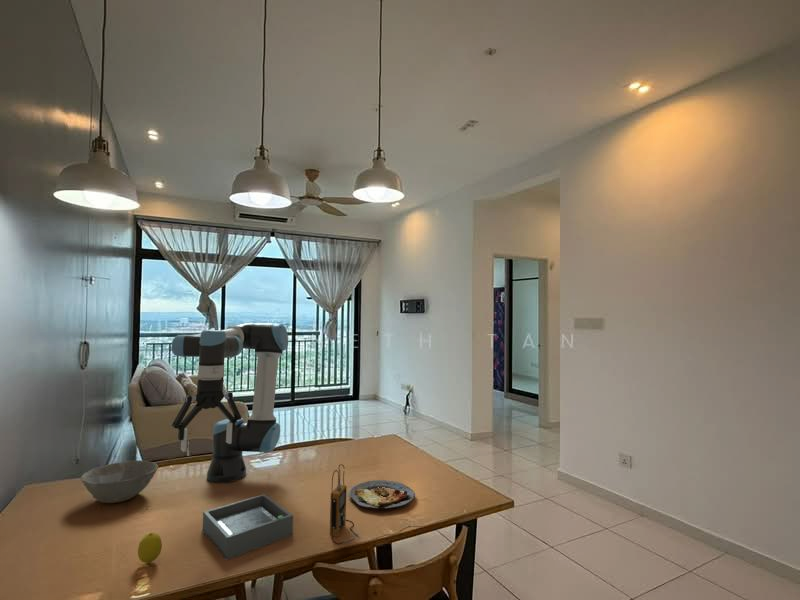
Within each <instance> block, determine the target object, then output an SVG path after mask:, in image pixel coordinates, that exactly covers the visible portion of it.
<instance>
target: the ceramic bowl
mask: <svg viewBox="0 0 800 600" xmlns="http://www.w3.org/2000/svg"><path fill="white" fill-rule="evenodd" d="M158 469H159V465H158V463H156V462H153V461H149V460H137V459H136V460H135V459H134V460H126V461H120V462H114V463H109V464H105V465H102V466H98V467H94V468H93V469H90V470H89V471H86V472H84V473H83V474H82V475H81V477H80V480H81V483H83V485H84V487H85V488H86V490H87V491H88V492H89V494H91V495H92V498H93V499H96V500H97V501H99V502H100V503H103V504H104V503H105V504H113V503H114V504H115V503H121V502H125V501H128V500H130V499H132V498H135V496H137V495H138V494H139V493H141V492H142V491H143V490H144V489H146V488H147V486H149V484H150V483H151V481H152V479H153V478H154V475H155V474H156V472H157V470H158Z"/></svg>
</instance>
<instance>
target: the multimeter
mask: <svg viewBox="0 0 800 600" xmlns="http://www.w3.org/2000/svg"><path fill="white" fill-rule="evenodd" d="M341 466H342V467H343V468H345V466H344V464H339V465H338V467H341ZM335 472H337V475H338V477H337V486H336V487H335V488H334V489H333V486H334V485H333V481H334V475H335ZM342 473H343V476H342V481H343V483H342V484H343V485H342V484H341V469H340V468H338V470H334V471H333V473H332V478H331V490H332V491H331V493H330V507H329V508H330V509H329V513H330V514H329V536H331V540H332V542H333V543H334V544H336V545H341V544H343V543H344V544H345V543H347V542H349V541H351V540H352V539H354V538H356V537H359V538H360V539H361V538H362V537H361V536H360V534H358V533H357V532H356V531H355V530H352V528H353V527H354V525H355V524H354V522H353V521H351V520H349V519H346V518H347V517H346V516H347V488H348V487H347V485H345V472H342ZM346 521H347V522H350V523H352V525H351V526H350V527H349V529H350V531H351V532H352V533H353V534H355V536H354V537H350V538H348V539H345V540H343V541H342V542H339V543H337V542H336V541H335V540H334V537H339V536H340V534H341V533H342V531H343V530H344V529H345V527H346Z"/></svg>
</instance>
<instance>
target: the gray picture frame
mask: <svg viewBox="0 0 800 600" xmlns="http://www.w3.org/2000/svg"><path fill="white" fill-rule="evenodd" d="M275 519H276V518H275V517H274V516H273V515H271V514H270V513H269V512H268V511H266V510H265V509H264V508H263V507H262V506H258V507H255V508H252V509H248V510H245V511H242V512H239V513H235V514H232V515H229V516H226V517H222V518H219V519H216V521H217V522H218V523H219V524H220V526H221V527H222V528H223V529H224V530H225V531H226V532H227V533H228V534H229V535H232V534H234V533H237V532H240V531H243V530H246V529H249V528H252V527H255V526H258V525H261V524H264V523H267V522H270V521H272V520H275Z"/></svg>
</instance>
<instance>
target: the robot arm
mask: <svg viewBox="0 0 800 600" xmlns="http://www.w3.org/2000/svg"><path fill="white" fill-rule="evenodd" d="M288 346H289V335H288V330H287V329H286V326H285V325H283V324H282V323H275V322H272V323H271V322H246V323H241V324H237V325H231V326H228V327H226V328H225V329H220V330H219V329H218V330H217V329H215V330H213V329H212V330H211V329H204V330H202V331H201V332H200V333H196V334H178V335H176V336H175V337H173V340H172V341H171V352H172V354H173V355H174V356H175V357H181V358H182V357H183V358H185V357H187V358H191V357H192V358H198V371H197V378H198V380H197V383H196V385H197V386H196V395H188V394H187V395H185V397H184V398H185V399H184V402H183V404H182V406H181V408H180V409H179V411H178V413H177V415H176V417H175V418H174V419H173V420H174V421H173V422H172V424H171V426H172V427H173V428H174V429H178V433H177V439H178V440H179V441H180V451H182V452H183V453H185V452H187V444H188V442H187V441H188V428H187V426H188V425H189V424H190V423H191V422H192V421H193V419H194V418H195V417H196V416H197V415H198V413H200V412H202V410H208V409H216V408H218V409H219V411H220V412H221V413H222V414H223V415H224V416H225V417H226V419H222V420H220V421H217V422H216V423H214V425H213V431H212V458H211V461H210V462H209V463H210V464H209V466H208V469H207V473H206V479H207V481H209V482H211V483H220V484H221V483H230V482H234V481H238V480H241V479H242V478H243V477H245V476H246V474H247V466H246V463H245V460H244V455H243V452H244V453H245V452H247V453H248V452H249V453H260V454H261V453H270V452H273V451H274V450H275V448H276V447H277V445H278V442H279V440H280V437H281V424H280V423H278V422H277V417H276V416H275V415H274V408H275V399H276V398H275V397H276V388H277V387H276V386H277V376H278V365H279V358H280V357H281V356H282V355H283V351H286V350H287V348H288ZM244 349H245V350H254V354H255V356H256V357H257V361H256V362H257V363H256V370H255V371H256V372H255V382H254V383H255V384H254V390H253V391H254V392H253V400H252V401H253V402H252V410H251V415H249V417H248V418H247V421H246V422H245V419H244V418H243V417H242V415H241V414H240V411H239V409H238V407H237V405H236V403H235V400H234V395H233V392H231V391H226V392H223V391H224V390H223V389H224V379H223V378H224V374H225V359H229V358H231V359H233V358H234V357H238V356H239V355H240V354H241V353H242V352H243V350H244ZM223 399H224V400H226V401H227V403H228V406H229V408H230V410H231V412H232V414H231V412H230V411H229V410H228V409H227V407H226V406H225V405H224V404H223V403H222V400H223ZM194 401H195V402H196V404H194V406H193V408H192V409H191V410H190V412H189V413H188V414H187V412H188V411H189V408H190V407H191V404H192V403H194Z"/></svg>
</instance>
